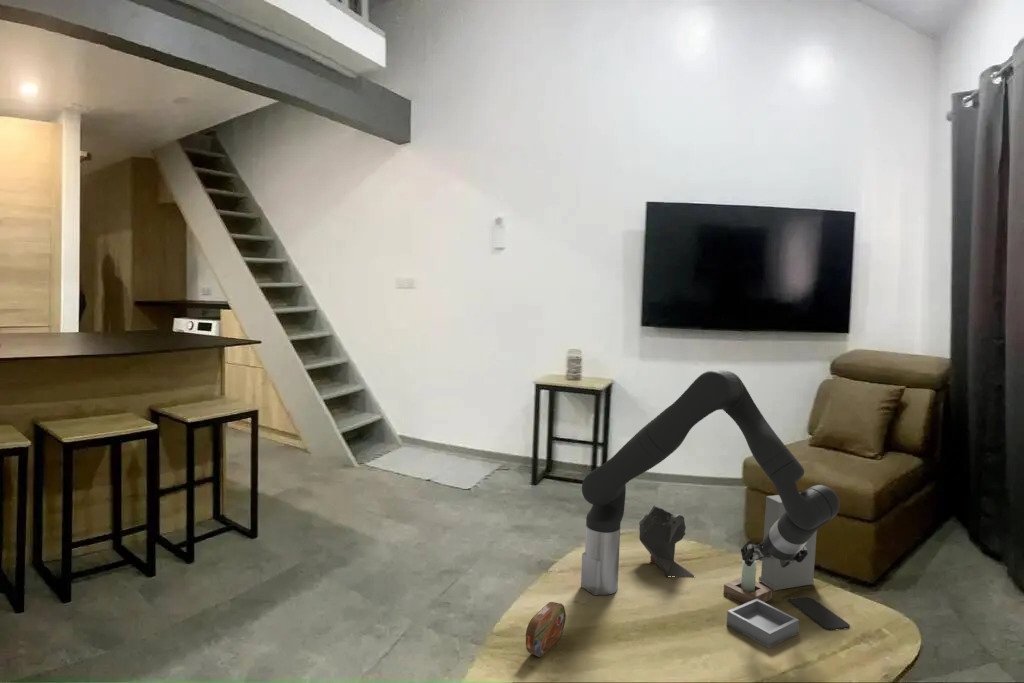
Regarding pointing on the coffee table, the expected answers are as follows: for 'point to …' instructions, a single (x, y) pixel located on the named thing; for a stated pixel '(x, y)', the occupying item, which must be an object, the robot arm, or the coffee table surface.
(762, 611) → the tray
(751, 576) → the pale green rounded cylinder
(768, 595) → the brown hollow square block
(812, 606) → the phone
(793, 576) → the tall grey upright box
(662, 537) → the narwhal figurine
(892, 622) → the coffee table surface
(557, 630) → the tin
